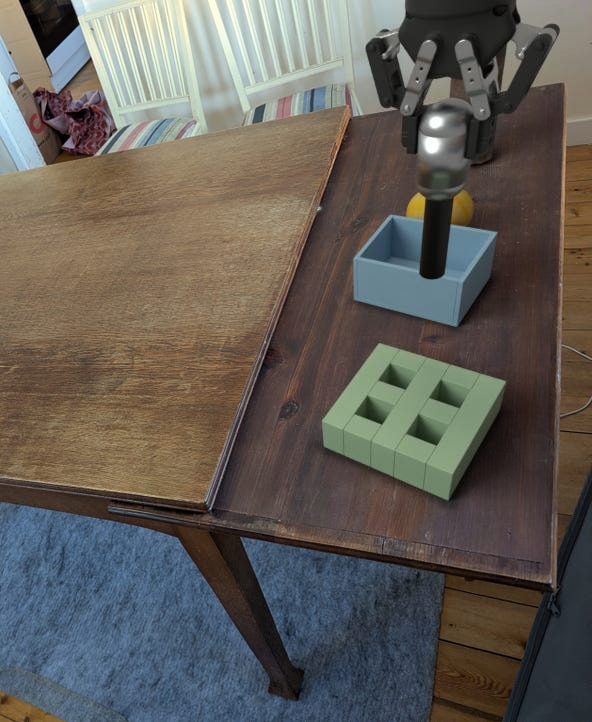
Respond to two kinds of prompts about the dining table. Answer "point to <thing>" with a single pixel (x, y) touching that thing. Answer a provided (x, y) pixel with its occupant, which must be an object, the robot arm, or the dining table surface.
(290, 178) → the dining table surface
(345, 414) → the rack
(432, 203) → the microphone
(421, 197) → the fruit
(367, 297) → the tub
